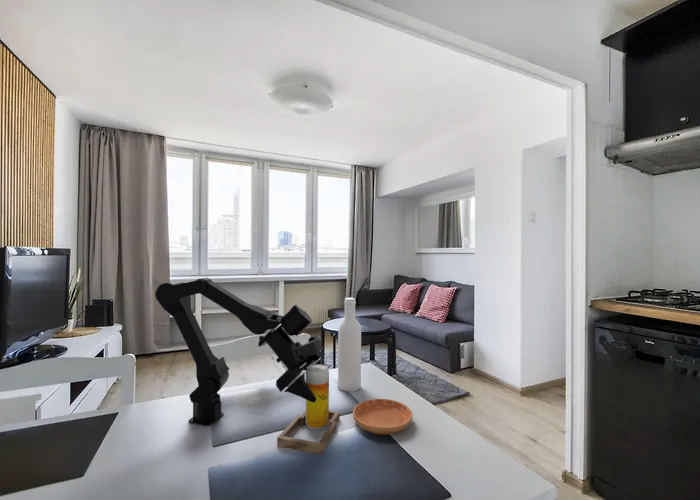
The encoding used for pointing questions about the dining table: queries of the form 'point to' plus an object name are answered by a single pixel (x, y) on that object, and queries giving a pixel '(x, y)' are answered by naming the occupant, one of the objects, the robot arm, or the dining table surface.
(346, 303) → the bottle
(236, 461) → the dining table surface
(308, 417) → the beer can
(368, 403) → the saucer
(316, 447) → the brown rectangular frame
